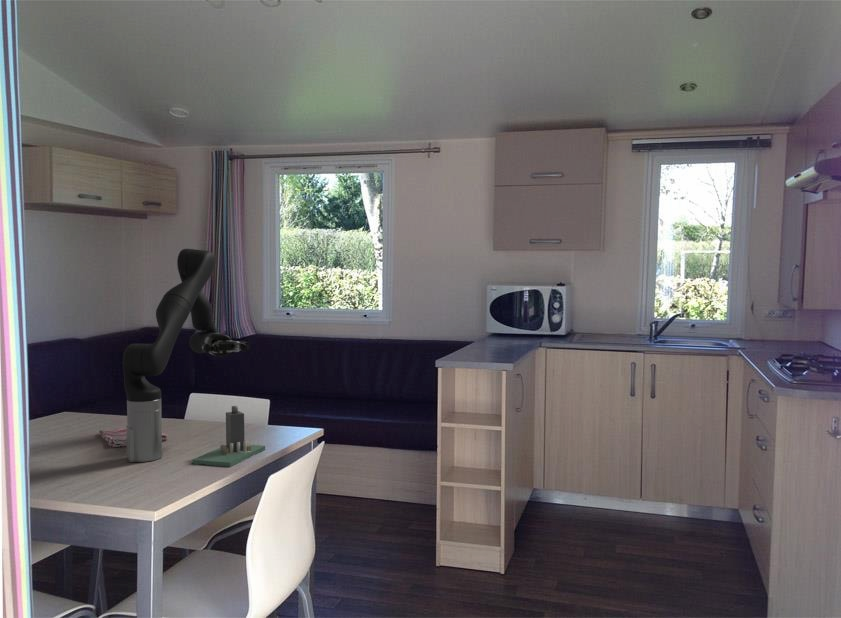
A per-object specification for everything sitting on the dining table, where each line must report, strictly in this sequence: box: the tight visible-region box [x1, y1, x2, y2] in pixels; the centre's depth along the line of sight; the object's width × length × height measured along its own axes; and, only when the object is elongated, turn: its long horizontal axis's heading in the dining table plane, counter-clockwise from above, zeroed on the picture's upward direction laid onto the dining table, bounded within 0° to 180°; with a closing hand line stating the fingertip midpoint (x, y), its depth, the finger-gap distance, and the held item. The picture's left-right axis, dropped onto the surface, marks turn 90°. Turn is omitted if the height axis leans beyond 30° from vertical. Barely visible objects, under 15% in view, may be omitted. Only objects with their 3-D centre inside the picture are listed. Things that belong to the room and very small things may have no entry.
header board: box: [191, 441, 266, 468], centre depth 203 cm, size 20×12×4 cm, turn 165°
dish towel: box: [98, 427, 168, 448], centre depth 227 cm, size 17×23×4 cm
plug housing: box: [225, 405, 245, 452], centre depth 206 cm, size 4×5×13 cm
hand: (232, 348), depth 218 cm, fingers open, 8 cm apart
